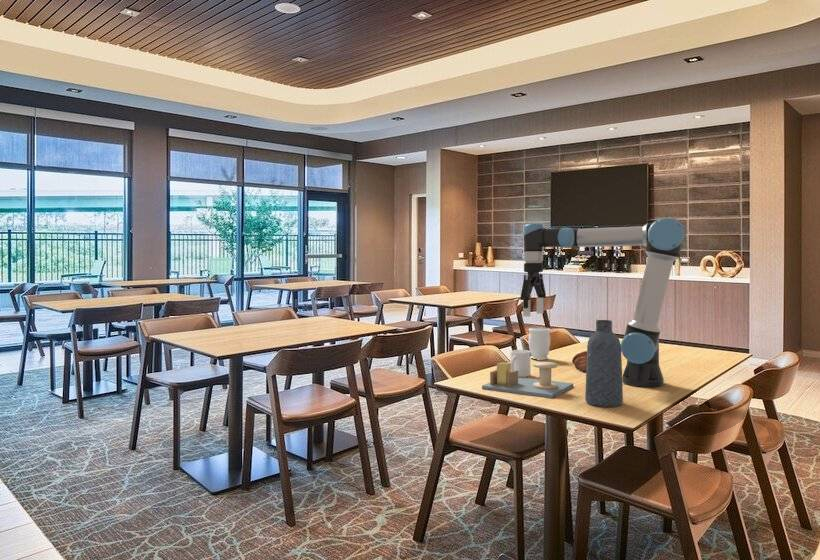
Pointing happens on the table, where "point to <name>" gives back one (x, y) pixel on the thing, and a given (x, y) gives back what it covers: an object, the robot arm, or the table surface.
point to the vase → (604, 367)
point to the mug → (520, 362)
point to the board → (530, 382)
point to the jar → (539, 342)
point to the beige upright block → (503, 372)
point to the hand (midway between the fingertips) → (533, 315)
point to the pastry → (580, 361)
